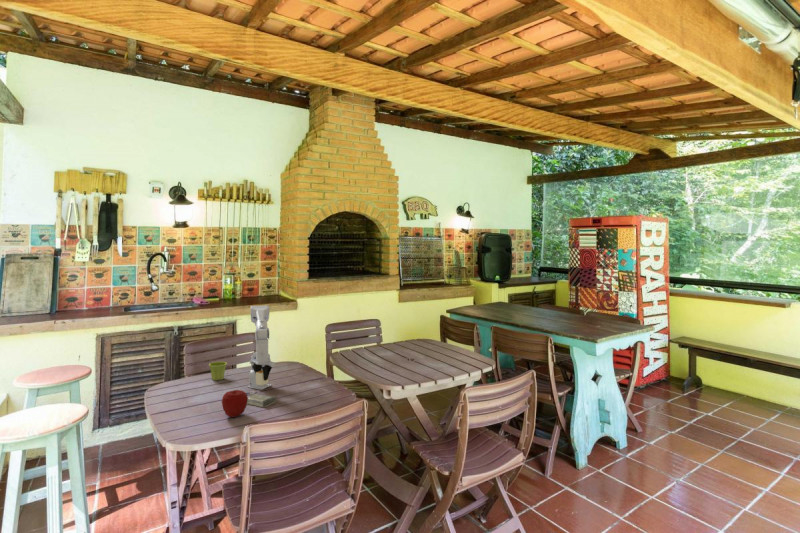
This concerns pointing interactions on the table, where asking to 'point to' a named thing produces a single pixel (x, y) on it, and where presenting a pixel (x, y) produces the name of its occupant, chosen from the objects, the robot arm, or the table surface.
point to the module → (260, 378)
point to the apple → (234, 402)
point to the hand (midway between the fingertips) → (262, 379)
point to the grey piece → (260, 400)
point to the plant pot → (217, 370)
